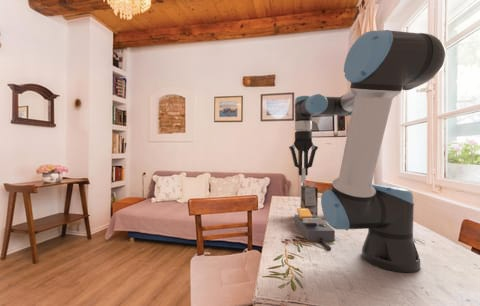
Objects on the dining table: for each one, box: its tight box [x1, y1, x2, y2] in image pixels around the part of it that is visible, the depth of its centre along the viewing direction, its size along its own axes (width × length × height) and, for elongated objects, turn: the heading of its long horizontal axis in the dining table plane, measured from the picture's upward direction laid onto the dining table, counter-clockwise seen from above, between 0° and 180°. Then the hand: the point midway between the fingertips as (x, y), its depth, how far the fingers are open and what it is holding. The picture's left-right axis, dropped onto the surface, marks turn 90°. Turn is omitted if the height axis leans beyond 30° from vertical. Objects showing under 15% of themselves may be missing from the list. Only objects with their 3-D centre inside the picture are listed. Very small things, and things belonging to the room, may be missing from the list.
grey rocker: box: [303, 218, 321, 223], centre depth 93 cm, size 7×5×2 cm
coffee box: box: [300, 185, 319, 216], centre depth 117 cm, size 9×6×16 cm
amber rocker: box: [296, 207, 313, 220], centre depth 103 cm, size 7×5×2 cm
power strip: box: [294, 214, 336, 251], centre depth 94 cm, size 30×10×5 cm, turn 0°
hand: (303, 182), depth 105 cm, fingers closed
